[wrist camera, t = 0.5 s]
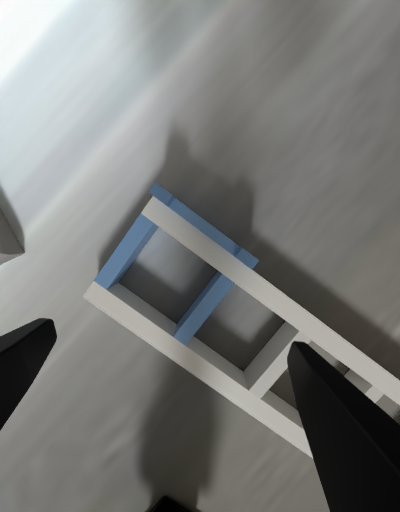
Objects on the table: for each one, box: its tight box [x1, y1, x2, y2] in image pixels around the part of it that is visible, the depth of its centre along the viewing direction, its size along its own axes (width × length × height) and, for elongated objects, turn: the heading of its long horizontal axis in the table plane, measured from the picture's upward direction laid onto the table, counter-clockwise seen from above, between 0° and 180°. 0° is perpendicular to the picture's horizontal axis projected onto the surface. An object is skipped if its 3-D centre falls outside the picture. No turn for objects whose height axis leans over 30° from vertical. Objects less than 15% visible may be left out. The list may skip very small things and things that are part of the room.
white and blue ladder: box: [83, 182, 400, 458], centre depth 22 cm, size 13×49×5 cm, turn 53°
